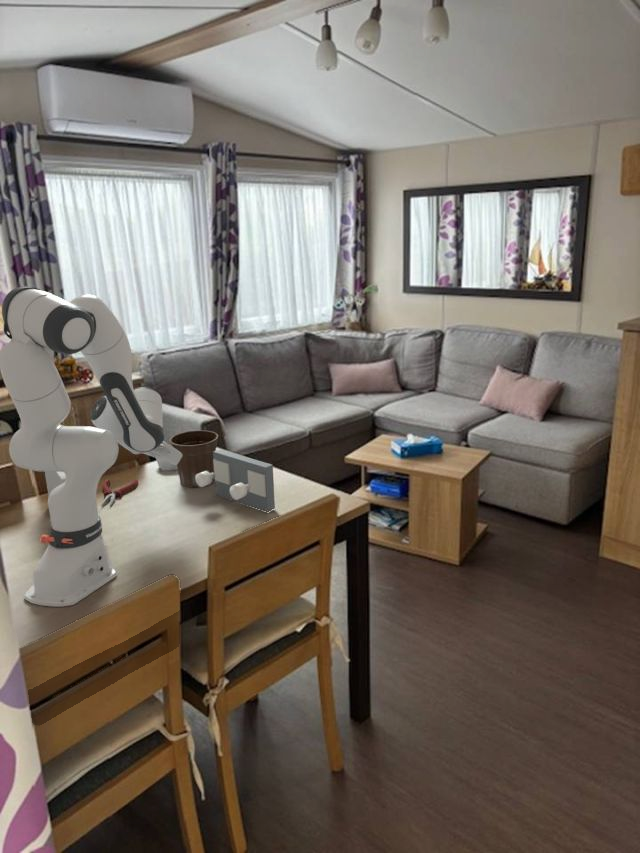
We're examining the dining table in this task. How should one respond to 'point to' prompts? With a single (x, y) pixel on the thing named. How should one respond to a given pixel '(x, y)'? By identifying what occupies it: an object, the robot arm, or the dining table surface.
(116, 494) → the pliers
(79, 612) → the dining table surface
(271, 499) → the mount
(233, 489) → the knob right
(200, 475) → the knob left
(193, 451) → the plant pot
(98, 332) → the robot arm
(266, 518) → the dining table surface
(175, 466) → the ramekin
